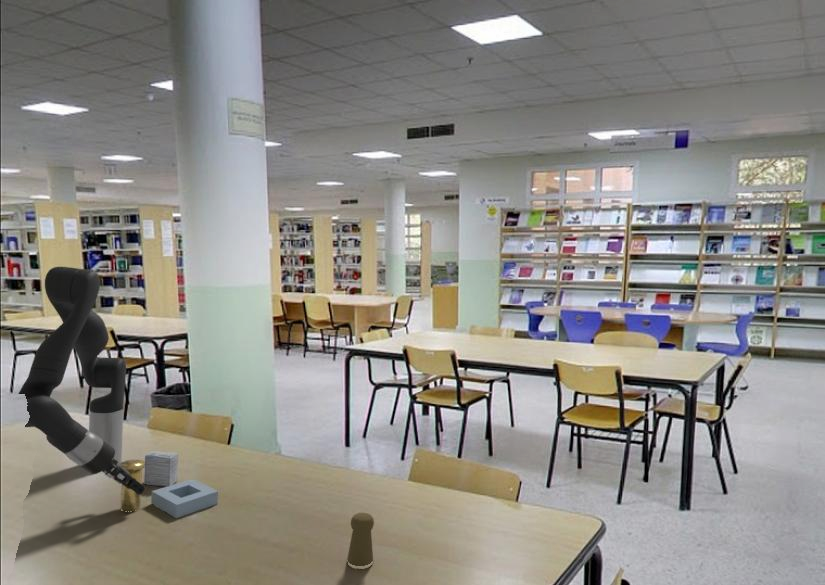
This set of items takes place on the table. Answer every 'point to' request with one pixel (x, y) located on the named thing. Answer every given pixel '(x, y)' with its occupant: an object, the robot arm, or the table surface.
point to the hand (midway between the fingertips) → (138, 487)
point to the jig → (184, 498)
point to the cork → (361, 540)
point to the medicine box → (161, 468)
